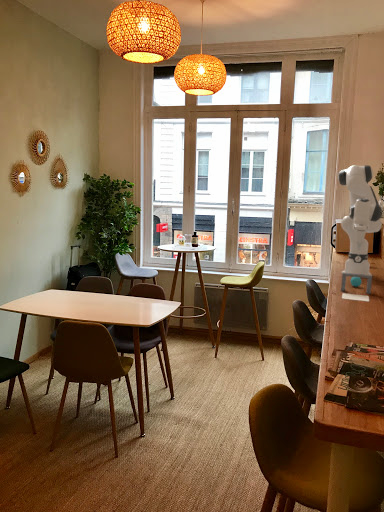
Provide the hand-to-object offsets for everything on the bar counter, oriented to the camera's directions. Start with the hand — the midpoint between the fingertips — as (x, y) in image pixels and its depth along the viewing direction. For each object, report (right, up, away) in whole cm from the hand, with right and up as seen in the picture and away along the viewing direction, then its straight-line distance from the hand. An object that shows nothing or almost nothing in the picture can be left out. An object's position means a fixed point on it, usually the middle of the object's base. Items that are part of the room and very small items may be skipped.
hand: (358, 250), depth 271 cm
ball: (-4, -18, -7) cm, 20 cm away
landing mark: (-14, -25, -34) cm, 45 cm away
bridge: (-9, -23, -21) cm, 33 cm away
